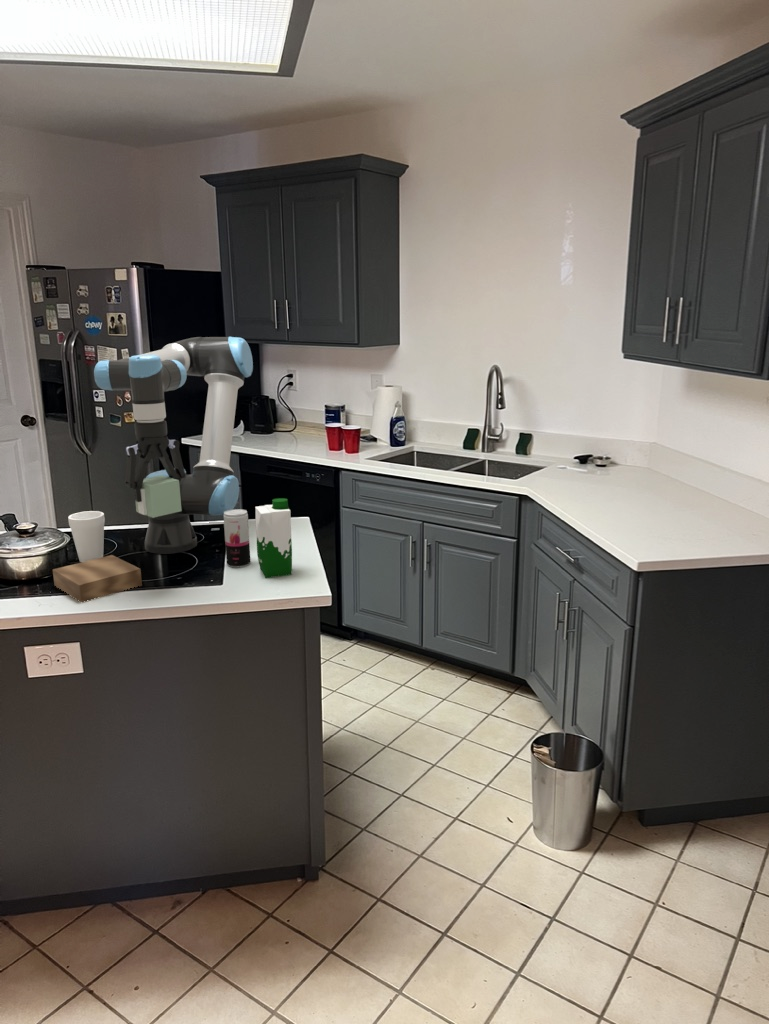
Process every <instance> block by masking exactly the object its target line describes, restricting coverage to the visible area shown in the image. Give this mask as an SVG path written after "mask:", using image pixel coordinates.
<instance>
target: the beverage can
mask: <svg viewBox="0 0 769 1024" xmlns="http://www.w3.org/2000/svg"><path fill="white" fill-rule="evenodd" d="M222 516H223V528H224V542H225V544H224V546H225V558H226V559H225V560H226V565H227V566H229V567H230V568H231V567H232V568H244V567H247V566H249V565H250V564H251V548H250V530H249V528H250V526H249V514H248V511H247V509H242V508H240V509H238V508H237V509H236V508H234V509H233V510H228V511H225V512H224V515H222Z"/></svg>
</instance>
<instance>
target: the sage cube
mask: <svg viewBox="0 0 769 1024" xmlns="http://www.w3.org/2000/svg"><path fill="white" fill-rule="evenodd" d="M141 488H144V489H145V498H146V508H147V515H146V516H147V517H148V516H150V517H152V518H154V517H158V516H162V515H167V514H171V513H175V512H180V511H182V509H181V498H180V486H179V480H177V479H173V478H170V477H166V476H163V475H161V476H156V477H151V478H146V477H144V480H143V483H142V487H141ZM134 501H135V500H134ZM135 511H136V513H138V514H140V513H139V510H138V502H136V501H135Z"/></svg>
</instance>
